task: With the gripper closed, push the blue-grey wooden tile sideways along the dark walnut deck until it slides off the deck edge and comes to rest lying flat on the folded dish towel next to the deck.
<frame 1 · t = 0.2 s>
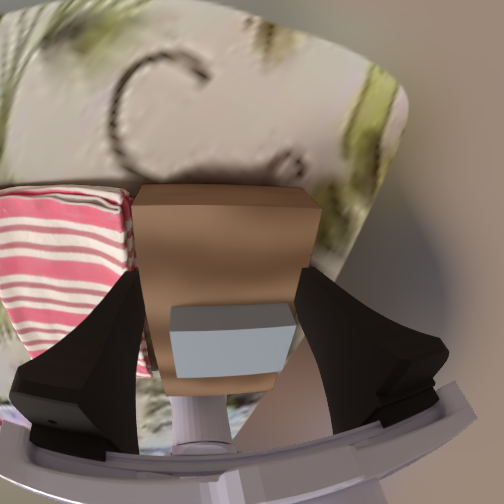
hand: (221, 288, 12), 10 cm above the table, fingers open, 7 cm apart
dish towel: (66, 293, 23), on the table
walnut deck: (218, 300, 26), on the table
blue-grey tile: (228, 331, 22), point 4 cm above the table, touching walnut deck
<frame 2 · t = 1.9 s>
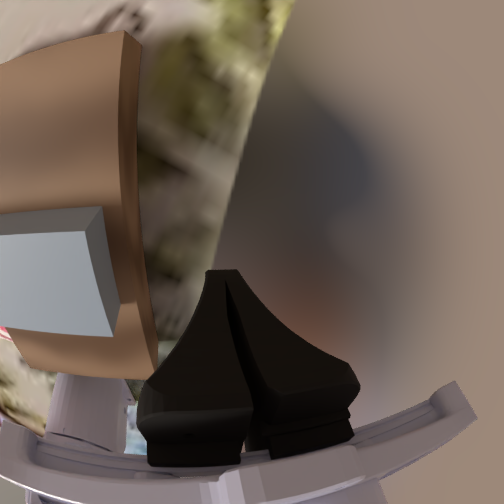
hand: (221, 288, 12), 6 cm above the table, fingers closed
walnut deck: (59, 228, 15), on the table
blue-grey tile: (41, 261, 12), point 4 cm above the table, touching walnut deck
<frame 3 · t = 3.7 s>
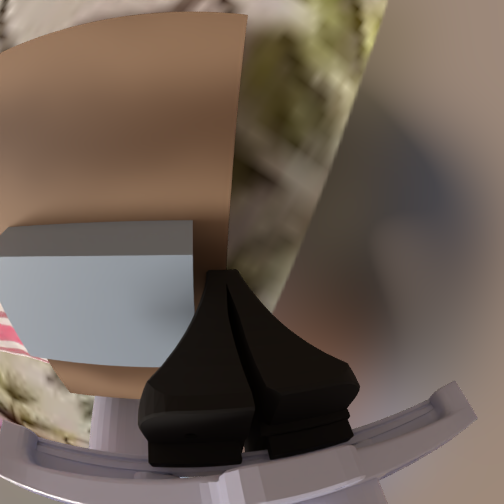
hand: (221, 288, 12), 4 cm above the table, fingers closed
walnut deck: (115, 239, 15), on the table
blue-grey tile: (98, 281, 11), point 4 cm above the table, touching gripper, walnut deck
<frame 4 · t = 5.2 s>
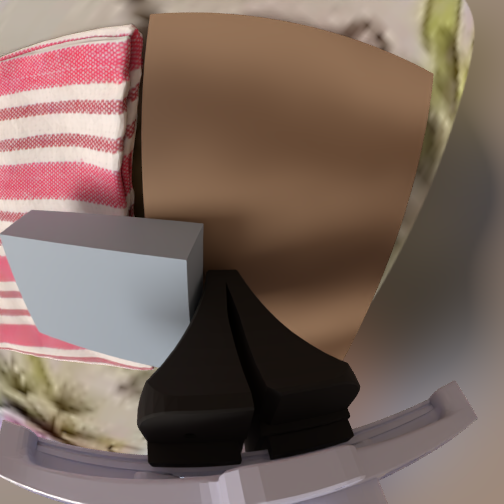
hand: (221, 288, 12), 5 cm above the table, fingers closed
dish towel: (30, 231, 14), on the table
walnut deck: (264, 237, 16), on the table
blue-grey tile: (110, 273, 12), point 4 cm above the table, tilted 14°, touching gripper
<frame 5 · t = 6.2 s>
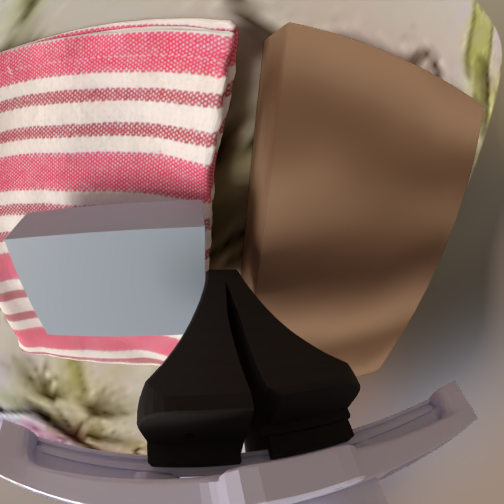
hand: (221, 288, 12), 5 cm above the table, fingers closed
dish towel: (80, 227, 15), on the table, touching blue-grey tile
walnut deck: (336, 237, 17), on the table
blue-grey tile: (114, 259, 13), point 2 cm above the table, touching dish towel, gripper
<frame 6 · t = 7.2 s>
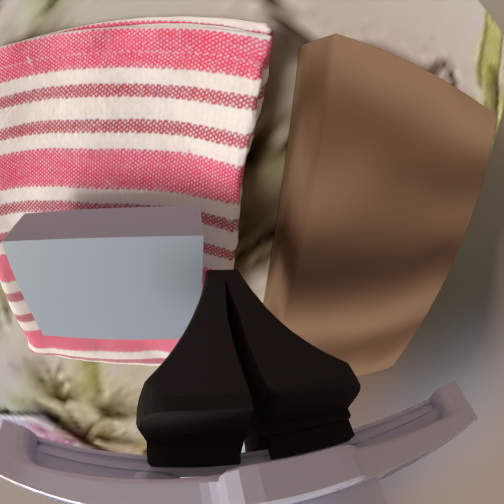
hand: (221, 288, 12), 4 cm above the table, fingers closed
dish towel: (98, 225, 15), on the table, touching blue-grey tile
walnut deck: (359, 238, 18), on the table
blue-grey tile: (111, 262, 13), point 2 cm above the table, touching dish towel
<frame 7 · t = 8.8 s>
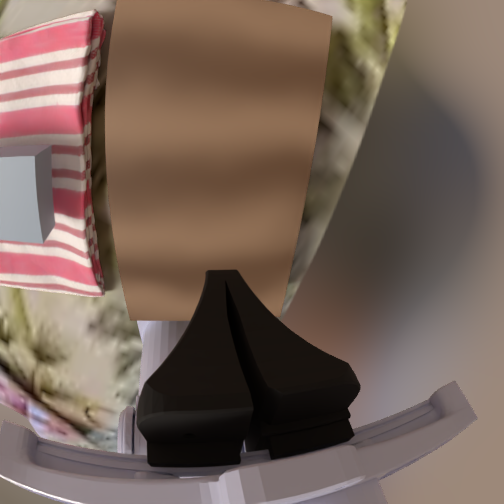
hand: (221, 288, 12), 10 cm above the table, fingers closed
dish towel: (16, 167, 16), on the table, touching blue-grey tile
walnut deck: (206, 163, 19), on the table
blue-grey tile: (5, 186, 13), point 2 cm above the table, touching dish towel
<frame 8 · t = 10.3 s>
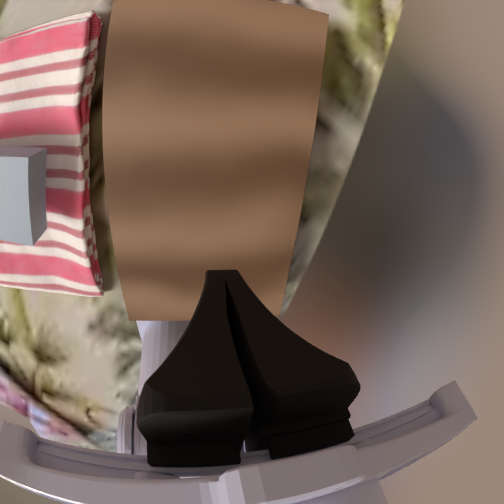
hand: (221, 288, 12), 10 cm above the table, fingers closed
dish towel: (15, 168, 16), on the table, touching blue-grey tile
walnut deck: (204, 162, 19), on the table
blue-grey tile: (1, 185, 13), point 2 cm above the table, touching dish towel
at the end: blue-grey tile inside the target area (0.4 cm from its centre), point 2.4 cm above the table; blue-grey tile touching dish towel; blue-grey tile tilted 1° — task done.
